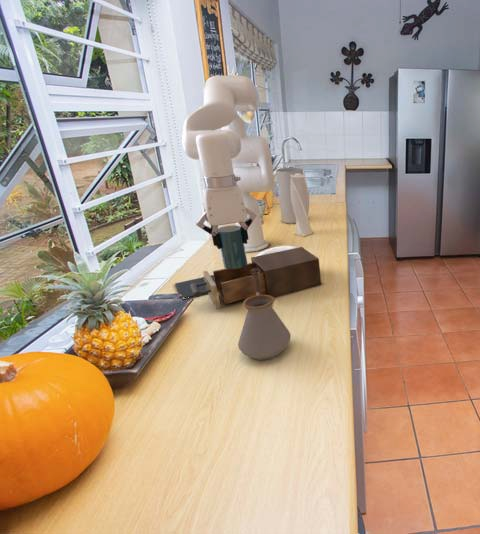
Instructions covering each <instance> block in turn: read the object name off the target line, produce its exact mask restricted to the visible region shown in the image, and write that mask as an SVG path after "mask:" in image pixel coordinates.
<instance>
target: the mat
mask: <svg viewBox="0 0 480 534" xmlns="http://www.w3.org/2000/svg"><path fill="white" fill-rule="evenodd" d="M210 276H211V278H212V279H213V281H214V283H215V279H214V274H212V275H211V274H210ZM204 282H205V280H204V276H203V277H198V278H194V279H190V280H184V281H180V282H176V283H175V287H176V289H177V292H178V294H181V295H182V296H183V297H184V298H188V297H189V298H188V299H192V298H196V297H195V296H194V294H193V292H192V290H191V288H190V284H192V283H195V284H200V283H204ZM197 288H198V290H199V292H201V291H205V290H207V289H206V285H202V286H198V287H197ZM204 295H208V293H204V294H201V295H200V296H199V297H201V296H204Z"/></svg>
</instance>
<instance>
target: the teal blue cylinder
mask: <svg viewBox="0 0 480 534" xmlns="http://www.w3.org/2000/svg"><path fill="white" fill-rule="evenodd" d="M217 234H218V235H219V239H220V244H221V249H219V250H220V254H221V259H222V264H223V269H225V268H226V269H238V268H241V267H244V266H246V265H247V264H248V259H247V252H245V247H244V241H243V235H242V230H241V227H240V226H236V224H235V225H232V224H230V225H225V226H224V225H223V226H220V227H218V230H217Z"/></svg>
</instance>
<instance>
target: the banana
mask: <svg viewBox="0 0 480 534" xmlns="http://www.w3.org/2000/svg"><path fill="white" fill-rule="evenodd" d="M294 248H299V247H298V246H294V245H279V246H273V247H271V248H266V249H264V250H263V251H262V250H261V251H260V252H259V253H257V254H256V255H255V256H254V257H256V256H261V255H265V254H270V253H275V252H280V251H284V250H289V249H294Z"/></svg>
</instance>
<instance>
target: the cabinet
mask: <svg viewBox="0 0 480 534" xmlns="http://www.w3.org/2000/svg"><path fill="white" fill-rule="evenodd" d="M255 256H256V255H255ZM255 256H252V257H250V260H251V262H250V263H253V262H254V263H255V264H256V265H257V267H258V268H259V269H260V270H261V271H262V272H263V273H264V276H265V282H266V289H267V293H265V294H264V295H270V296H272V297H274V298H276V297H280V296H284V295H289V294H291V293H294V292H298V291H302V290H305V289H310V288H312V287H317V286H320V285H322V278H321V277H322V276H321V269H320V268H321V267H320V258H319V257H317V256H315V255H314V254H313V253H311V252H310V251H308V250H307V249H306V248H304V247H303V246H299V247H298V248H294V249H289V250H284V251H280V252H275V253H270V254H265V255H261V256H256V257H255Z"/></svg>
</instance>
